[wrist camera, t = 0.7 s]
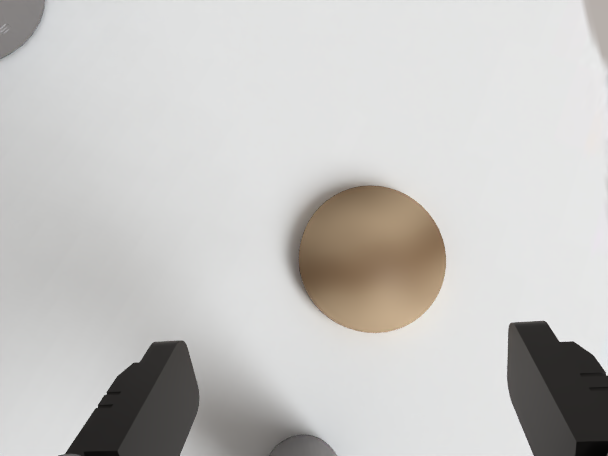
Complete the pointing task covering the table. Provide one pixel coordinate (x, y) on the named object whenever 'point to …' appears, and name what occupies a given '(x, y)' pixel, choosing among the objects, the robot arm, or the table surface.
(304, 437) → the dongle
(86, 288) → the table surface
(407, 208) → the coaster
